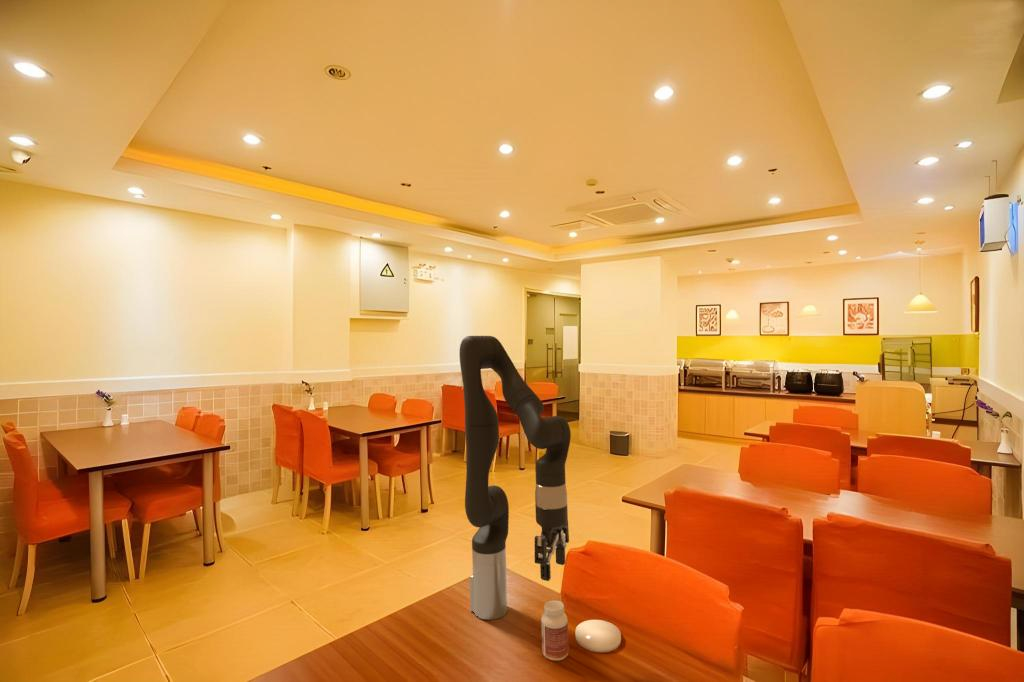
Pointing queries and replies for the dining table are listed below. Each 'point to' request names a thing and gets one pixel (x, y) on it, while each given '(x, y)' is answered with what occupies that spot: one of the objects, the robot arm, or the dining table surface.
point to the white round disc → (598, 636)
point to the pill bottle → (554, 631)
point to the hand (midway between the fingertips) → (553, 571)
